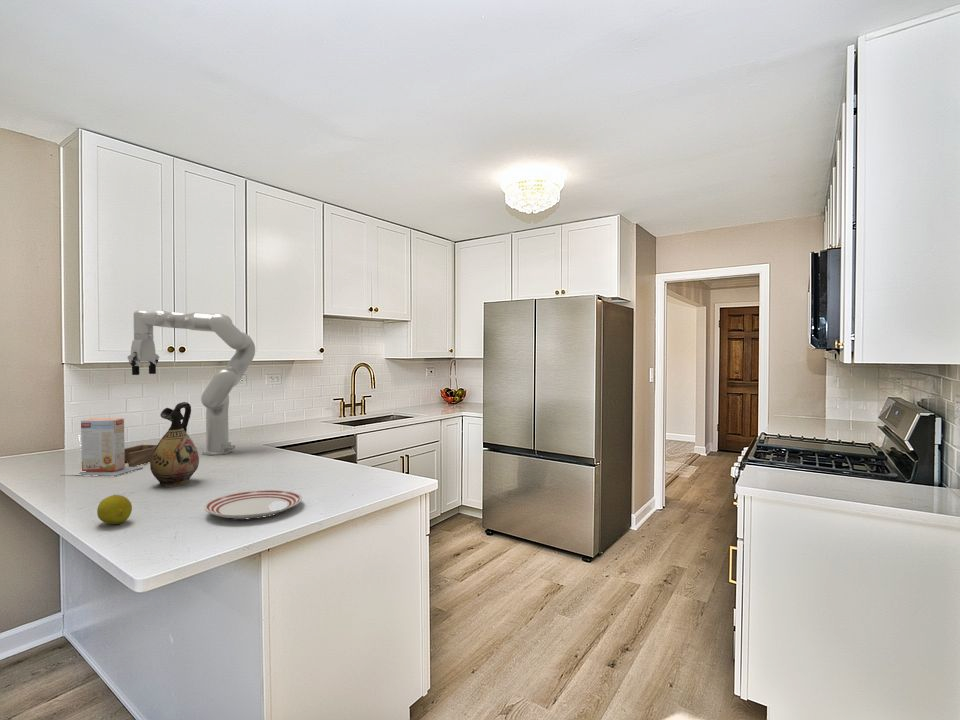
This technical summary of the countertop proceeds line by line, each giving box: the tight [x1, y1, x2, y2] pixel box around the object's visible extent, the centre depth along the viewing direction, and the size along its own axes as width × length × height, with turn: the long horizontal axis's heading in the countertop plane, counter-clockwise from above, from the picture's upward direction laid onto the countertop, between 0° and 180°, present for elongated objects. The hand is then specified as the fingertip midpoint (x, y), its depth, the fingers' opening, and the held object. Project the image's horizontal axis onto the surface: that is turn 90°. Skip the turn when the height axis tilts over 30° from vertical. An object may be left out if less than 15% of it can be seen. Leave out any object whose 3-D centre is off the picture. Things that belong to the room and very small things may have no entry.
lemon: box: [96, 494, 133, 525], centre depth 143 cm, size 11×8×8 cm
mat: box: [79, 466, 144, 477], centre depth 204 cm, size 24×14×1 cm, turn 82°
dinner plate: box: [203, 489, 303, 520], centre depth 155 cm, size 27×27×3 cm
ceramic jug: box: [149, 401, 200, 488], centre depth 187 cm, size 17×15×30 cm
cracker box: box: [80, 418, 126, 471], centre depth 205 cm, size 14×6×21 cm, turn 87°
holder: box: [125, 444, 158, 467], centre depth 221 cm, size 11×19×6 cm, turn 172°
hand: (144, 374), depth 233 cm, fingers open, 9 cm apart
